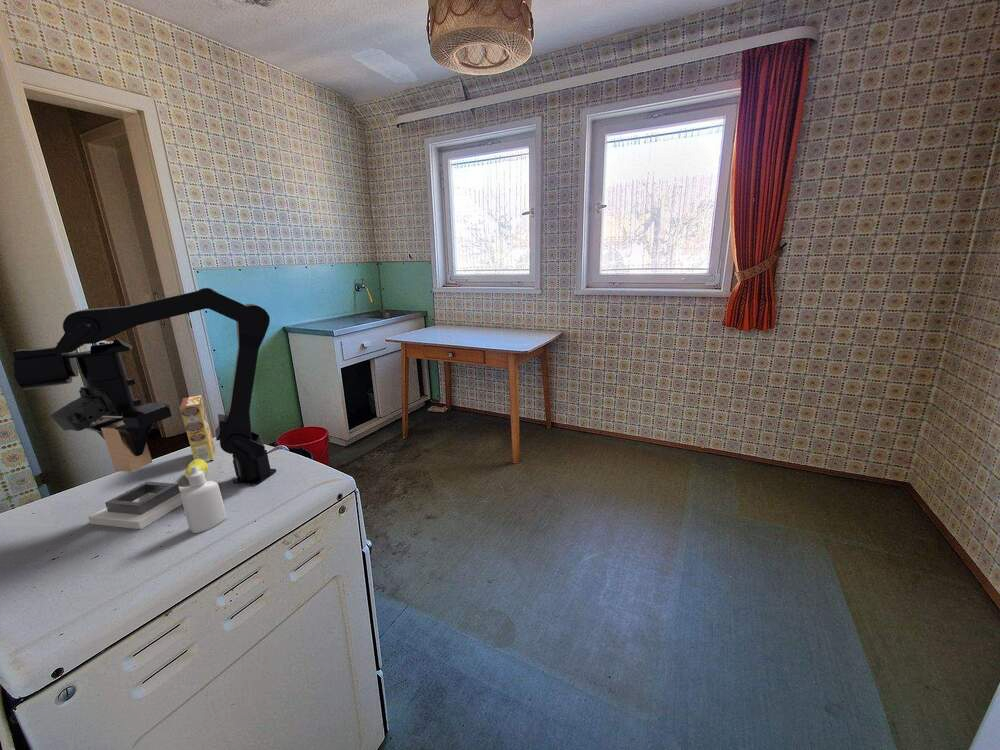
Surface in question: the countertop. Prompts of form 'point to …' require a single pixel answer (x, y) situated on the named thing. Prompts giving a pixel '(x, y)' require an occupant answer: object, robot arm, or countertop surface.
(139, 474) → the countertop surface
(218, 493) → the eye dropper bottle
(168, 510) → the collar plate
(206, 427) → the candy box
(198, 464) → the yellow elongated oval piece
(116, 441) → the wooden square prism
